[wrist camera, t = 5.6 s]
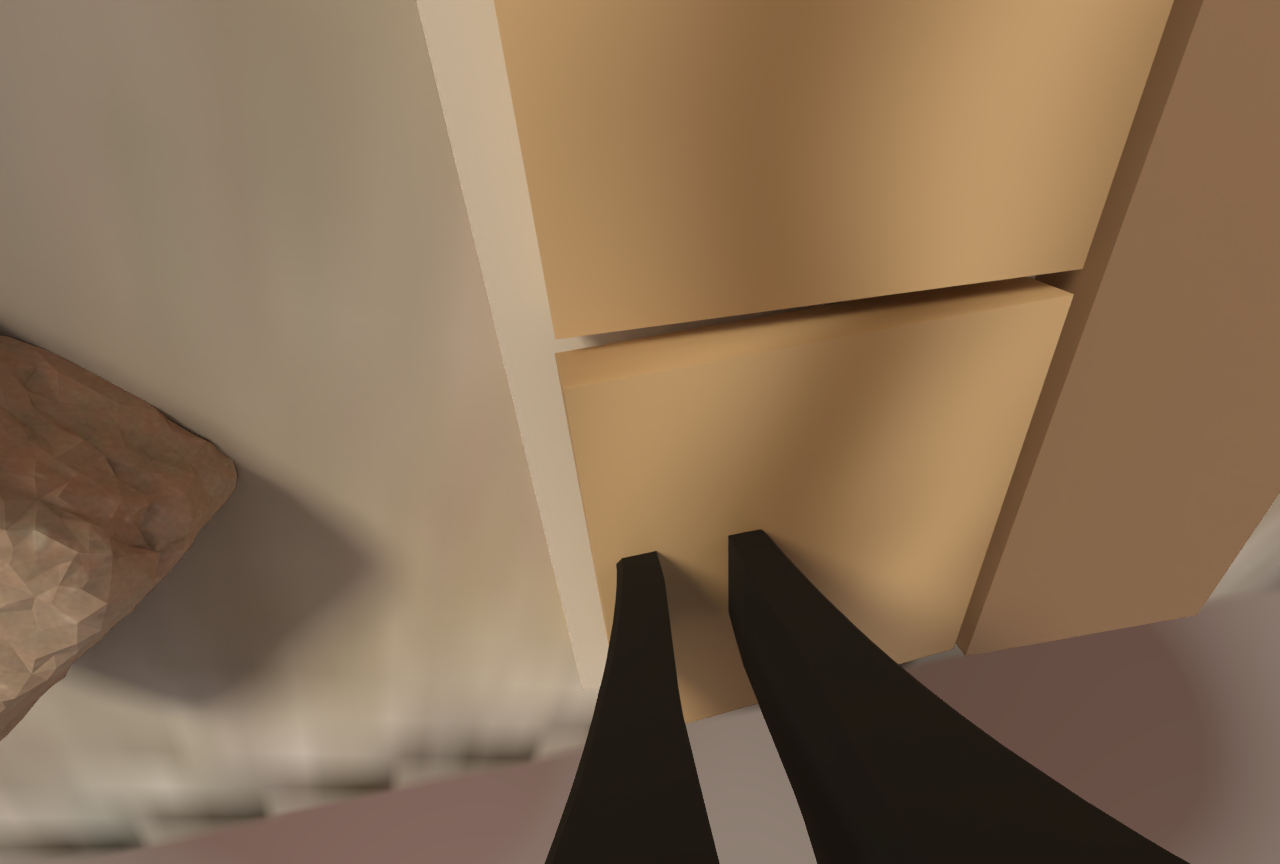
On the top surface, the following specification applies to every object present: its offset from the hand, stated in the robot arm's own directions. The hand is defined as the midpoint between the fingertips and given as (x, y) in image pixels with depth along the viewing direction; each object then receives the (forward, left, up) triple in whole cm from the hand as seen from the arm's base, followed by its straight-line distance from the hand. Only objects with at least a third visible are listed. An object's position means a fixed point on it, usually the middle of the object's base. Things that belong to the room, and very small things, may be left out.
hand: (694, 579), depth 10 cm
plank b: (-2, 0, -1) cm, 3 cm away
